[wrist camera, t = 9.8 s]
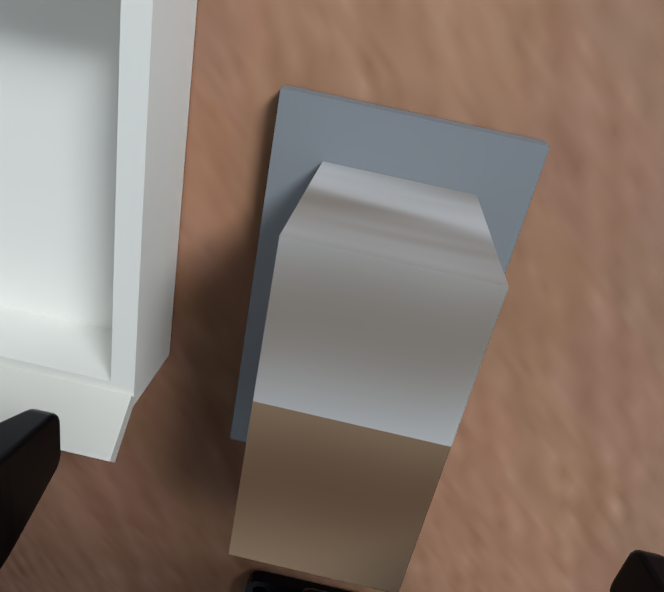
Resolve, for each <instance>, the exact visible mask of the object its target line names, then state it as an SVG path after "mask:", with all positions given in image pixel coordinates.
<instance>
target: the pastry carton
mask: <svg viewBox="0 0 664 592" xmlns="http://www.w3.org/2000/svg"><path fill="white" fill-rule="evenodd" d="M196 10H197V0H0V422H2V421H4V420H6V419H8V418H11V417H13V416H15V415H17V414H19V413H22V412H24V411H26V410H29V409H38V410H43V411H47V412H51V413H55V414H56V415H57V416H58V417H59V420H60V448H61V450H63V451H67V452H71V453H75V454H80V455H84V456H88V457H92V458H97V459H101V460H105V461H110V462H115V460H116V457H117V454H118V451H119V448H120V445H121V442H122V439H123V436H124V433H125V430H126V427H127V424H128V421H129V418H130V415H131V411H132V408H133V406H134V405H135V403H136V402H137V400H138V399H139V398H140V396H141V395H142V393H143V392H144V390H145V389H146V387H147V386H148V385H149V383H150V382H151V380H152V379H153V377H154V376H155V375H156V373H157V372H158V370H159V369H160V367H161V366H162V365H163V363H164V362H165V360H166V359H167V357H168V356H169V353H170V341H171V328H172V315H173V303H174V290H175V277H176V264H177V252H178V239H179V226H180V213H181V201H182V188H183V175H184V163H185V150H186V137H187V124H188V112H189V99H190V86H191V74H192V61H193V48H194V35H195V23H196Z"/></svg>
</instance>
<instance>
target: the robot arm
mask: <svg viewBox="0 0 664 592" xmlns="http://www.w3.org/2000/svg"><path fill="white" fill-rule="evenodd" d="M60 454H61V448H60V420H59V417H58V416H57V415H56V414H55V413H51V412H47V411H43V410H38V409H29V410H26V411H24V412H22V413H19V414H17V415H15V416H13V417H11V418H8V419H6V420H4V421H2V422H0V569H1V567H2V566H3V564H4V562H5V561H6V559H7V558H8V556H9V554H10V553H11V551H12V549H13V547H14V546H15V544H16V542H17V540H18V538H19V537H20V535H21V533H22V531H23V529H24V527H25V526H26V524H27V522H28V520H29V518H30V516H31V515H32V513H33V511H34V509H35V507H36V505H37V504H38V502H39V500H40V498H41V496H42V494H43V493H44V491H45V489H46V487H47V485H48V483H49V482H50V480H51V478H52V476H53V474H54V472H55V470H56V468H57V466H58V464H59V460H60ZM245 592H348V591H343V590H339V589H335V588H331V587H327V586H322V585H318V584H314V583H310V582H306V581H301V580H297V579H293V578H289V577H285V576H280V575H276V574H272V573H268V572H262V571H257V572H253V573H252V574H250V576H249V578H248V581H247V584H246V588H245ZM610 592H664V557H663V556H661V555H659V554H655V553H650V552H646V551H642V550H635V551H633V552H631V553H630V555H629V556H628V558H627V559H626V561H625V563H624V564H623V566H622V567H621V569H620V571H619V572H618V574H617V576H616V577H615V579H614V581H613V582H612V585H611V588H610Z"/></svg>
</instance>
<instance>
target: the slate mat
mask: <svg viewBox="0 0 664 592" xmlns="http://www.w3.org/2000/svg"><path fill="white" fill-rule="evenodd" d="M549 148H550V146H549V145H548V144H547V143H546V142H545V141H542V140H537V139H533V138H528V137H524V136H519V135H514V134H510V133H505V132H501V131H496V130H491V129H487V128H482V127H478V126H473V125H468V124H464V123H459V122H455V121H450V120H445V119H441V118H436V117H432V116H427V115H423V114H418V113H413V112H409V111H404V110H400V109H395V108H390V107H386V106H381V105H377V104H372V103H367V102H363V101H358V100H354V99H349V98H344V97H340V96H335V95H331V94H326V93H322V92H317V91H312V90H308V89H303V88H299V87H294V86H289V85H284V86H283V87H281V88H280V95H279V102H278V109H277V116H276V123H275V130H274V137H273V144H272V151H271V158H270V165H269V172H268V179H267V186H266V193H265V199H264V206H263V213H262V220H261V227H260V234H259V241H258V248H257V255H256V262H255V269H254V276H253V283H252V290H251V297H250V304H249V311H248V318H247V324H246V331H245V338H244V345H243V352H242V359H241V366H240V373H239V380H238V387H237V394H236V401H235V408H234V415H233V422H232V429H231V436H230V439H234V440H239V441H243V442H246V441H247V435H248V429H249V423H250V416H251V410H252V404H253V398H254V391H255V385H256V379H257V373H258V366H259V360H260V354H261V348H262V341H263V335H264V329H265V323H266V316H267V310H268V304H269V298H270V291H271V285H272V279H273V273H274V267H275V260H276V254H277V248H278V242H279V236H280V234H281V232H282V230H283V229H284V227H285V225H286V224H287V222H288V220H289V218H290V217H291V215H292V213H293V211H294V210H295V208H296V206H297V205H298V203H299V201H300V199H301V198H302V196H303V194H304V193H305V191H306V189H307V187H308V186H309V184H310V182H311V180H312V179H313V177H314V175H315V174H316V172H317V170H318V168H319V167H320V165H321V163H322V162H323V161H324V162H328V163H333V164H337V165H342V166H346V167H351V168H355V169H360V170H364V171H369V172H374V173H378V174H383V175H387V176H392V177H396V178H401V179H405V180H410V181H414V182H419V183H423V184H428V185H432V186H437V187H442V188H446V189H451V190H455V191H460V192H464V193H469V194H473V195H477V197H478V200H479V203H480V206H481V209H482V212H483V214H484V217H485V220H486V223H487V226H488V229H489V232H490V235H491V237H492V240H493V243H494V246H495V249H496V252H497V255H498V258H499V260H500V263H501V266H502V269H503V272H504V275H505V272H506V269H507V266H508V264H509V261H510V258H511V255H512V252H513V249H514V247H515V244H516V241H517V238H518V235H519V232H520V230H521V227H522V224H523V221H524V218H525V216H526V213H527V210H528V207H529V204H530V201H531V199H532V196H533V193H534V190H535V187H536V185H537V182H538V179H539V176H540V173H541V170H542V168H543V165H544V162H545V159H546V156H547V154H548V151H549Z"/></svg>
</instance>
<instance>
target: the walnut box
mask: <svg viewBox="0 0 664 592" xmlns="http://www.w3.org/2000/svg"><path fill="white" fill-rule="evenodd" d="M508 288H509V286H508V283H507V280H506V278H505V275H504V272H503V269H502V266H501V263H500V260H499V258H498V255H497V252H496V249H495V246H494V243H493V240H492V237H491V235H490V232H489V229H488V226H487V223H486V220H485V217H484V214H483V212H482V209H481V206H480V203H479V200H478V197H477V195H473V194H469V193H464V192H460V191H455V190H451V189H446V188H442V187H437V186H432V185H428V184H423V183H419V182H414V181H410V180H405V179H401V178H396V177H392V176H387V175H383V174H378V173H374V172H369V171H364V170H360V169H355V168H351V167H346V166H342V165H337V164H333V163H328V162H324V161H323V162H322V163H321V165H320V167H319V168H318V170H317V172H316V174H315V175H314V177H313V179H312V180H311V182H310V184H309V186H308V187H307V189H306V191H305V193H304V194H303V196H302V198H301V199H300V201H299V203H298V205H297V206H296V208H295V210H294V211H293V213H292V215H291V217H290V218H289V220H288V222H287V224H286V225H285V227H284V229H283V230H282V232H281V234H280V236H279V242H278V248H277V254H276V260H275V267H274V273H273V279H272V285H271V291H270V298H269V304H268V310H267V316H266V323H265V329H264V335H263V341H262V348H261V354H260V360H259V366H258V373H257V379H256V385H255V391H254V398H253V404H252V410H251V416H250V423H249V429H248V435H247V441H246V448H245V454H244V460H243V466H242V473H241V479H240V485H239V491H238V497H237V504H236V510H235V516H234V522H233V529H232V535H231V541H230V547H229V554H230V555H234V556H238V557H242V558H246V559H251V560H255V561H259V562H263V563H267V564H272V565H276V566H280V567H284V568H289V569H293V570H297V571H301V572H305V573H310V574H314V575H318V576H322V577H326V578H331V579H335V580H339V581H343V582H348V583H352V584H356V585H360V586H364V587H369V588H373V589H377V590H381V591H385V592H399V589H400V587H401V584H402V581H403V578H404V575H405V573H406V570H407V567H408V564H409V562H410V559H411V556H412V553H413V551H414V548H415V545H416V542H417V540H418V537H419V534H420V531H421V528H422V526H423V523H424V520H425V517H426V515H427V512H428V509H429V506H430V504H431V501H432V498H433V495H434V493H435V490H436V487H437V484H438V481H439V479H440V476H441V473H442V470H443V468H444V465H445V462H446V459H447V457H448V454H449V451H450V448H451V445H452V443H453V440H454V437H455V434H456V432H457V429H458V426H459V423H460V421H461V418H462V415H463V412H464V410H465V407H466V404H467V401H468V398H469V396H470V393H471V390H472V387H473V385H474V382H475V379H476V376H477V374H478V371H479V368H480V365H481V363H482V360H483V357H484V354H485V351H486V349H487V346H488V343H489V340H490V338H491V335H492V332H493V329H494V327H495V324H496V321H497V318H498V316H499V313H500V310H501V307H502V304H503V302H504V299H505V296H506V293H507V291H508Z"/></svg>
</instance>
